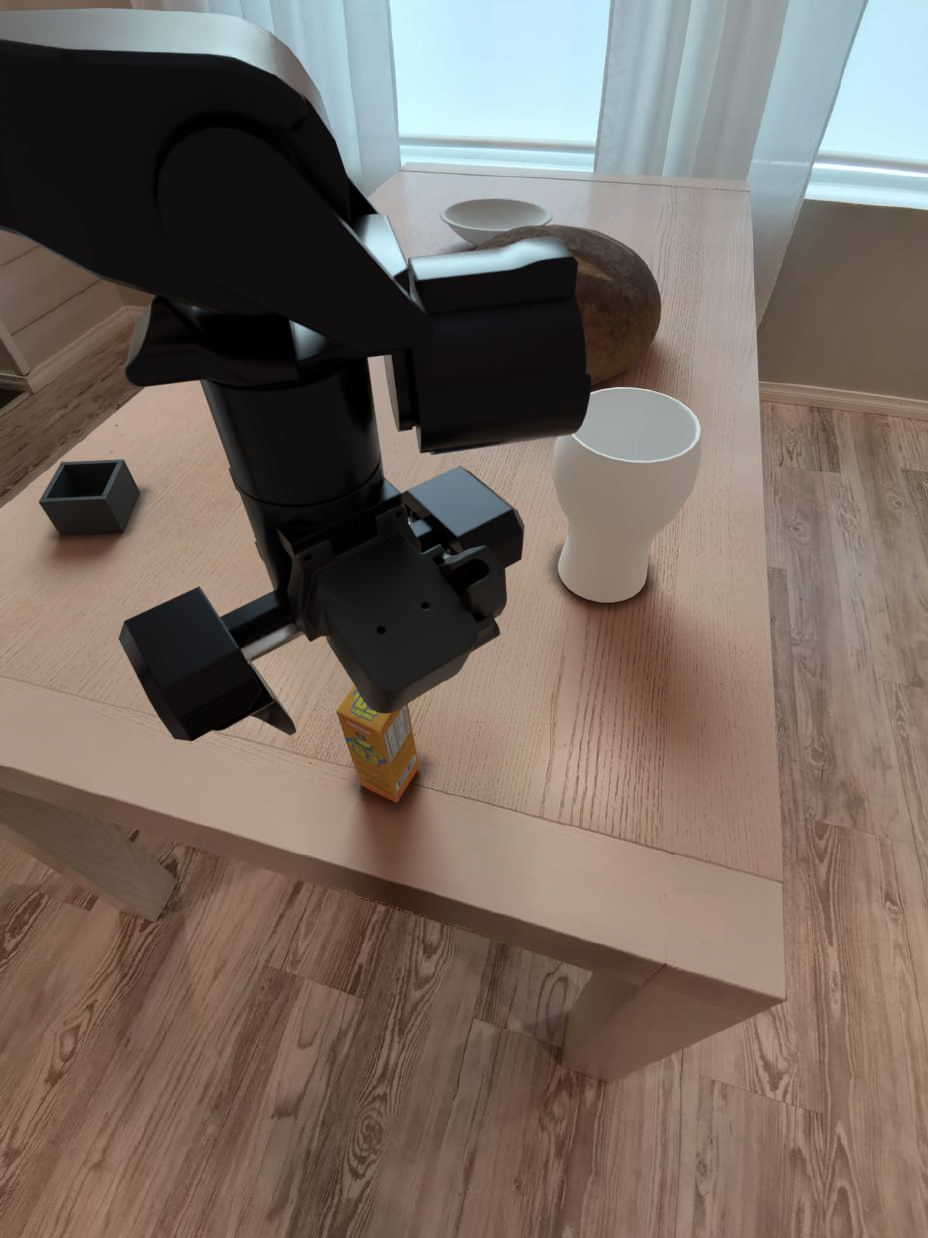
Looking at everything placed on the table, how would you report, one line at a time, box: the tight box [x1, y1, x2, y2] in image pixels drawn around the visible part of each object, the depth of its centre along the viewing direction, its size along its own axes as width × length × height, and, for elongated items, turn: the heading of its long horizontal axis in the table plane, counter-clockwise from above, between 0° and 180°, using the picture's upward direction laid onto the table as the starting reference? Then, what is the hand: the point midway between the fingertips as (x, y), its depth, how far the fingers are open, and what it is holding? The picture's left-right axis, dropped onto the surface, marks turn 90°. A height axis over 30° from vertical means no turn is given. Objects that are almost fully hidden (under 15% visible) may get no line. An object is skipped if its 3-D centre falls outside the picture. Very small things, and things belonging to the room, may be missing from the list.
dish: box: [438, 196, 554, 247], centre depth 103 cm, size 18×14×5 cm
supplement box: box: [335, 684, 420, 803], centre depth 41 cm, size 3×3×10 cm
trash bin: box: [38, 458, 141, 536], centre depth 62 cm, size 6×6×4 cm
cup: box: [551, 386, 702, 604], centre depth 52 cm, size 11×11×15 cm
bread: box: [473, 223, 662, 386], centre depth 79 cm, size 26×27×13 cm
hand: (362, 686), depth 37 cm, fingers open, 9 cm apart
